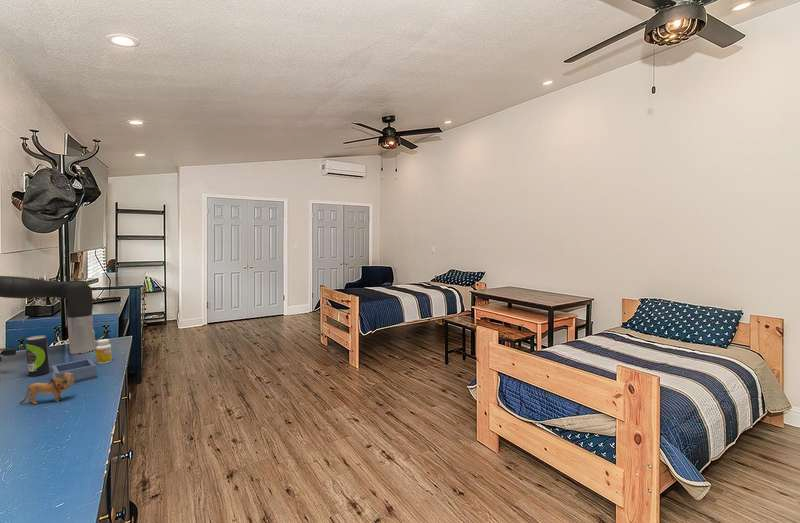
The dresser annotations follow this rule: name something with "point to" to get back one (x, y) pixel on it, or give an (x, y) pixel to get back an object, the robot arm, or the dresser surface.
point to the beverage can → (37, 355)
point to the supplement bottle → (103, 351)
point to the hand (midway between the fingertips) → (8, 355)
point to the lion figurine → (50, 387)
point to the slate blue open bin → (76, 370)
